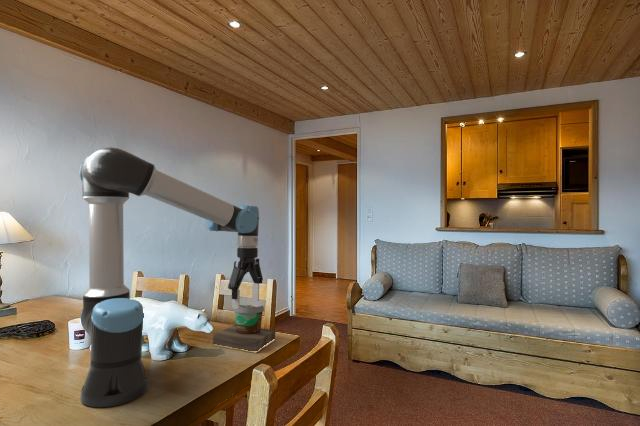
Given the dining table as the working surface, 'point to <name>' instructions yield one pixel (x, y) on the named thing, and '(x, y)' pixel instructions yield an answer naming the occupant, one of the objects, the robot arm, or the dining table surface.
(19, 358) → the dining table surface
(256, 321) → the food container
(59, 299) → the dining table surface
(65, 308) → the dining table surface
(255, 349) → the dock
